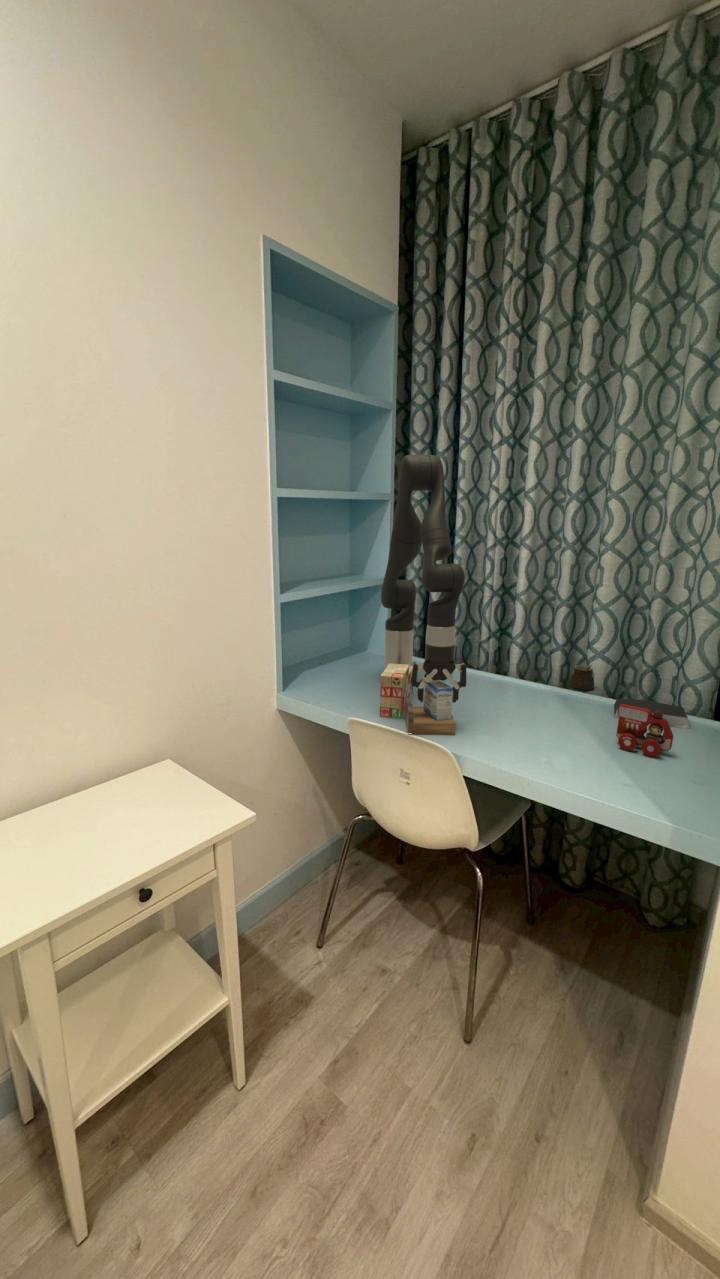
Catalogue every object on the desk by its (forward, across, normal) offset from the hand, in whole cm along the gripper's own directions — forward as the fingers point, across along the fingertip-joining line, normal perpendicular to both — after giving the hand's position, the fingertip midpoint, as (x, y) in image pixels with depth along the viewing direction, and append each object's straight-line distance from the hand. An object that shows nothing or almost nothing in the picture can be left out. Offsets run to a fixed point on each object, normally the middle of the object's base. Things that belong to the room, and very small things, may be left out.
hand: (437, 701), depth 141 cm
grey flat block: (+8, -60, -7) cm, 61 cm away
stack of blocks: (+7, +10, -16) cm, 20 cm away
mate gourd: (+7, -50, -29) cm, 59 cm away
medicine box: (+4, 0, 0) cm, 4 cm away
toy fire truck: (+7, -48, +13) cm, 50 cm away
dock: (+7, +2, 0) cm, 7 cm away
